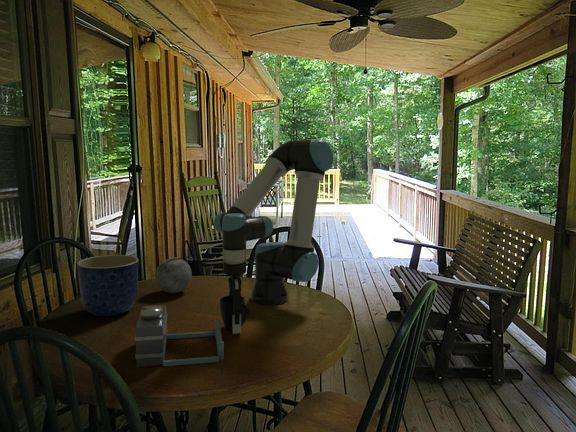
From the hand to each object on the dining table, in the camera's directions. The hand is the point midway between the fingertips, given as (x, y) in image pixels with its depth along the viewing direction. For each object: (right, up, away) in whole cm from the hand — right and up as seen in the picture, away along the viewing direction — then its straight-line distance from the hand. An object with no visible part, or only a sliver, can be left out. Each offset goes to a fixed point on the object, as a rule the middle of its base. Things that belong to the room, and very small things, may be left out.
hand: (235, 326), depth 148 cm
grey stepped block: (-22, -3, -18) cm, 29 cm away
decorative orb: (-30, +4, +39) cm, 50 cm away
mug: (0, -1, -1) cm, 1 cm away
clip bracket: (-11, -3, -16) cm, 20 cm away
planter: (-48, +2, +15) cm, 50 cm away
